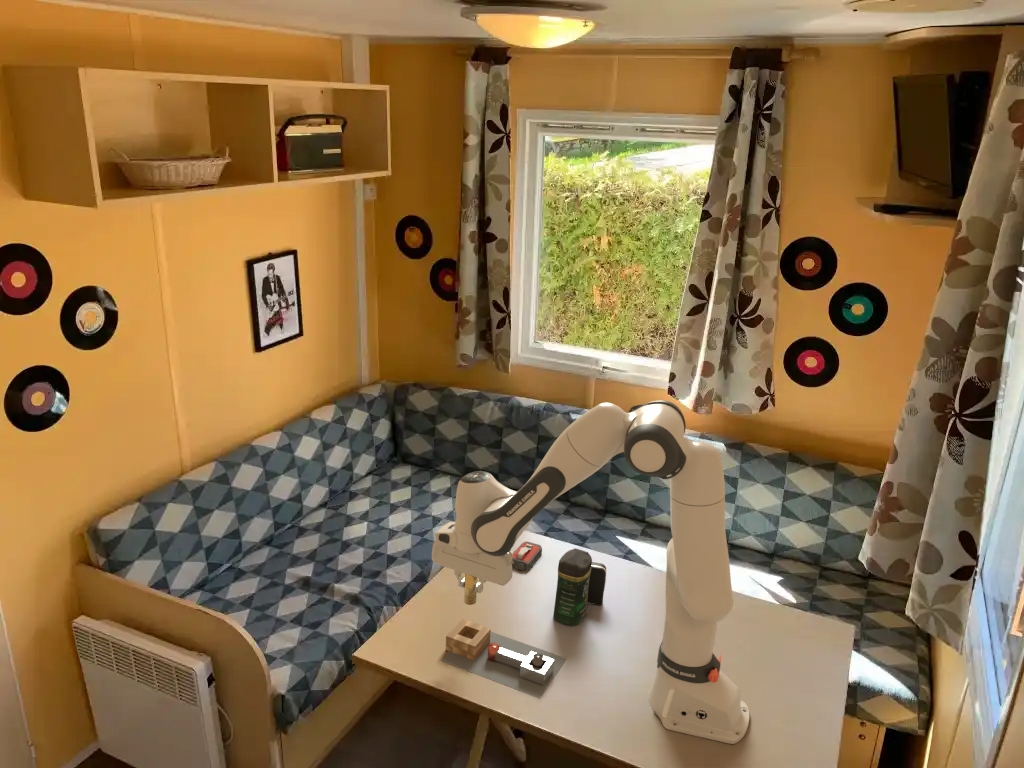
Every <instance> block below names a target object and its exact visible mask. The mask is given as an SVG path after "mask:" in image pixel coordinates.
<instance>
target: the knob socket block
mask: <svg viewBox="0 0 1024 768" xmlns="http://www.w3.org/2000/svg"><path fill="white" fill-rule="evenodd" d="M534 654H536V653H534V652H532V651H531V653H530V654H529V655H528V656H527V657H526V656H523V655H520V654H518V653H515V652H512V651H509V650H507V649H504V648H501V647H500V646H499V644H497V643H490V644H489V645H488V660H490V661H499V662H502V663H505V664H507V665H510V666H513V667H516V668H518V669H520V677H523V678H525V679H528V680H531V681H533V682H536V683H539V684H541V685H544V683H545V682H546V680H547V679H548V678H549V676H550V675H551V673H552V672H553V670H554V659H551V658H549V657H546V656H543V666H542V669H539V668H537V667H534V666H532V662H533V655H534Z"/></svg>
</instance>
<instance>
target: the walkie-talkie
mask: <svg viewBox="0 0 1024 768" xmlns="http://www.w3.org/2000/svg"><path fill="white" fill-rule="evenodd" d="M510 552H511V553H512V555H513V558H512V568H515V569H518V570H520V571H525V572H529V571H530V569H531V568H532V567H533V566H534V564H535V563H536V562H537V561H538V560H539V559H540V557H541V556H542V555H543V554H542V552H543V547H542V546H541V544H538V543H533V542H531V541H524V542H522V543H521V544H520V545H519V546H518V547H517V548H516V549H513V550H512V549H511V550H510Z"/></svg>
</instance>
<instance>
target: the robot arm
mask: <svg viewBox="0 0 1024 768" xmlns="http://www.w3.org/2000/svg"><path fill="white" fill-rule="evenodd" d="M686 424H687V423H686V420H685V416H684V414H683V411H682V410H681V409H680V407H679V406H678V405H677V404H675V403H674V402H672V401H669V400H663V399H659V400H653V401H649V402H646V403H642V404H637V405H633V406H631V407H630V409H629V411H628V412H626V411H625V410H623V408H621V407H620V406H619V405H616V404H614V403H612V402H601V403H599V404H597V405H595V406H594V407H592V408H590V409H589V410H588V411H587V410H586V412H584V413H583V414H582V415H580V416H579V417H578V418H577V419H575V420H574V421H573V422H571V424H569V425H568V427H566V428H565V429H564V430H563V431H562V432H561V433H560V434H559V435H558V437H557V438H556V440H554V441H553V443H552V445H551V446H550V448H549V449H548V451H547V452H546V454H545V455H544V457H543V458H542V460H541V462H540V463H539V465H538V466H537V468H536V469H535V471H534V472H533V474H532V475H531V477H530V478H529V479H528V480H527V481H526V483H525V484H524V485H523V486H521V488H520V489H518V490H513V489H510V488H508V487H507V486H506V485H503V484H502V483H501V482H499V481H498V480H497V479H496V478H495V477H494V476H493V475H492V474H491V473H490V472H487V471H481V470H479V471H478V470H477V471H473V472H469V473H467V474H465V475H464V476H462V477H461V478H460V480H459V481H458V483H457V487H456V494H455V505H454V510H455V514H456V515H455V516H456V519H455V520H454V521H449V522H447V523H446V524H444V525H443V526H442V527H440V528H439V529H438V530H437V531H436V532H435V533H434V539H435V540H434V541H433V544H432V549H431V560H432V562H433V564H435V565H438V566H440V567H444V568H446V569H451V570H453V571H454V575H455V577H456V579H457V580H458V582H457V584H458V585H457V586H458V587H461V588H463V589H464V586H465V574H468V575H471V576H474V577H477V579H478V581H479V582H478V581H477V584H476V585H475V587H474V588H475V590H474V591H475V592H477V593H478V594H481V593H482V592H483V591H484V585H485V584H486V582H491V583H493V584H496V585H499V586H502V587H503V586H505V585H507V584H509V583H510V582H511V580H512V579H513V567H512V558H513V555H512V553H511V552H510V551H512V548H513V547H514V545H515V543H516V542H517V541H518V540H519V538H520V537H521V536H522V535H523V534H524V533H525V530H527V528H528V526H529V525H531V524H530V523H531V522H533V520H534V517H536V516H537V515H538V514H539V513H540V512H541V511H542V510H544V509H545V507H547V506H548V505H549V504H550V503H552V502H553V501H555V500H556V499H557V498H558V497H560V496H561V495H563V494H564V493H566V492H568V491H569V490H571V489H572V488H574V487H576V486H577V485H578V484H580V483H581V482H583V481H585V480H586V479H587V478H589V477H590V476H592V475H593V474H595V473H596V472H597V471H599V470H600V469H601V468H602V467H603V466H605V464H607V463H608V461H610V460H611V459H612V458H614V457H615V456H617V455H619V454H623V453H624V458H625V461H626V462H627V465H628V466H629V467H630V468H631V469H632V470H633V471H635V473H637V474H640V475H642V476H647V477H650V478H651V477H652V478H660V479H663V480H669V496H670V498H669V499H670V500H669V501H670V503H669V505H670V508H669V509H670V510H669V511H670V530H671V531H670V532H671V536H672V538H671V539H670V540H669V541H668V544H667V546H666V571H665V619H664V627H663V635H662V640H661V643H660V645H659V648H658V652H657V660H656V662H657V663H656V669H657V670H656V673H655V676H654V679H653V682H652V684H651V686H650V688H649V690H648V693H647V700H648V701H647V702H648V703H649V706H650V707H651V708H652V710H653V712H654V714H655V715H656V716H658V718H659V719H660V722H661V725H662V726H663V727H664V728H666V730H669V731H674V732H679V733H683V734H687V735H691V736H695V737H700V738H703V739H707V740H708V739H709V740H712V741H717V742H721V743H725V744H730V745H734V744H737V743H739V742H740V741H741V740H742V739H743V738H744V736H746V733H747V731H748V728H749V724H750V710H749V707H748V705H747V703H746V702H745V701H743V700H741V693H740V690H739V687H738V685H736V684H735V682H733V681H732V680H731V679H730V678H729V677H728V676H727V675H726V674H725V673H724V672H723V671H722V670H721V666H722V665H721V662H722V655H719V657H717V656H715V653H714V648H715V641H716V635H717V627H718V623H719V622H720V621H723V620H724V619H726V618H727V617H728V616H729V615H730V614H731V612H732V609H733V607H734V594H733V587H732V577H731V567H730V556H729V548H728V542H727V535H726V484H725V475H724V469H723V467H724V466H723V462H722V457H721V454H720V453H719V451H718V450H717V448H716V447H715V446H713V445H712V444H710V443H707V442H704V441H695V440H694V441H693V440H691V439H690V438H688V437H687V436H685V433H686V427H687V425H686Z"/></svg>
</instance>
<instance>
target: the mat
mask: <svg viewBox="0 0 1024 768" xmlns="http://www.w3.org/2000/svg"><path fill="white" fill-rule="evenodd" d="M490 643H497V644H499V646H500V647H501V648H504V649H507V650H509V651H512V652H515V653H518V654H520V655H523V656H526V657H527V656H528V655H529V654H530V653H531V651H532V652H534V653H540V654H542V655H543V656H546V657H549V658H551V659H554V670H553V672H552V673H551V675H550V676H549V678H548V679H547V680H546V682H545V683H544V685H541V684H539V683H536V682H533V681H531V680H528V679H525V678H523V677H520V669H518V668H516V667H513V666H510V665H507V664H505V663H502V662H499V661H490V660H488V645H489V644H490ZM490 643H489V644H488V645H487V647H486V648H485V649H484V650H483V651H482V652H481V654H480V655H479V656H478V657H477V658H476V659H475V661H474V660H472V659H469V658H466V657H463V656H461V655H458V654H455V653H453V652H450V651H448V652H447V653H446V654H445V655H444V656H443V657H442V659H441V660H440V661H441V662H443V663H446V664H448V665H452V666H454V667H456V668H459V669H462V670H463V671H464V670H465V671H467V672H470V673H472V674H475V675H478V676H480V677H483V678H484V679H485V678H486V679H488V680H491V681H492V682H496V683H497V684H498V683H499V684H501V685H504V686H506V687H508V688H511V689H514V690H517V691H519V692H522V693H524V694H526V695H527V694H528V695H530V696H532V697H535V698H538V699H541V698H542V696H543V695H544V693H545V692H546V691H547V688H549V686H550V684H551V683H552V682H553V680H554V679H555V677H556V675H557V674H558V673H559V671H560V670H561V668H562V667H563V665H564V663H565V662H566V661H567V659H568V658H567V657H565V656H564V657H563V656H561V655H558V654H555V653H553V652H550V651H547V650H544V649H541V648H538V647H536V646H533V645H531V644H527V643H524V642H521V641H519V640H516V639H513V638H511V637H508V636H505V635H503V634H502V635H501V634H499V633H497V632H494V631H491V634H490Z"/></svg>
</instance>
